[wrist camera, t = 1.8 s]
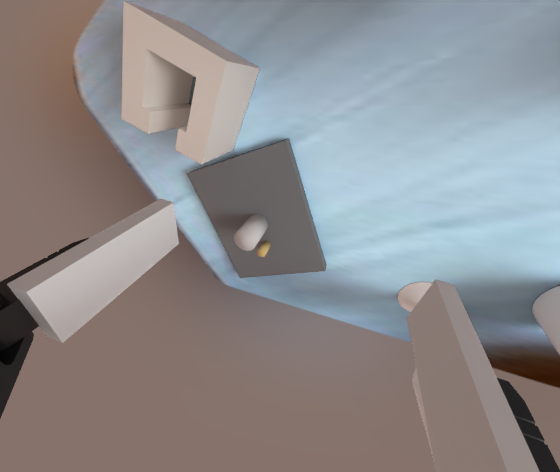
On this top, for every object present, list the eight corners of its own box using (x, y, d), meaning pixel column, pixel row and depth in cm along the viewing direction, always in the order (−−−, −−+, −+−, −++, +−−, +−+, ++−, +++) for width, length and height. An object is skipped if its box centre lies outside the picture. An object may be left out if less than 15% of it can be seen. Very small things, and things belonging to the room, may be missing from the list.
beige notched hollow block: (182, 22, 26) (123, 0, 20) (259, 68, 26) (226, 61, 20) (170, 112, 32) (121, 118, 25) (233, 149, 32) (201, 164, 26)
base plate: (192, 170, 36) (163, 184, 30) (288, 138, 29) (273, 149, 24) (243, 272, 44) (227, 297, 39) (326, 265, 38) (320, 293, 32)
